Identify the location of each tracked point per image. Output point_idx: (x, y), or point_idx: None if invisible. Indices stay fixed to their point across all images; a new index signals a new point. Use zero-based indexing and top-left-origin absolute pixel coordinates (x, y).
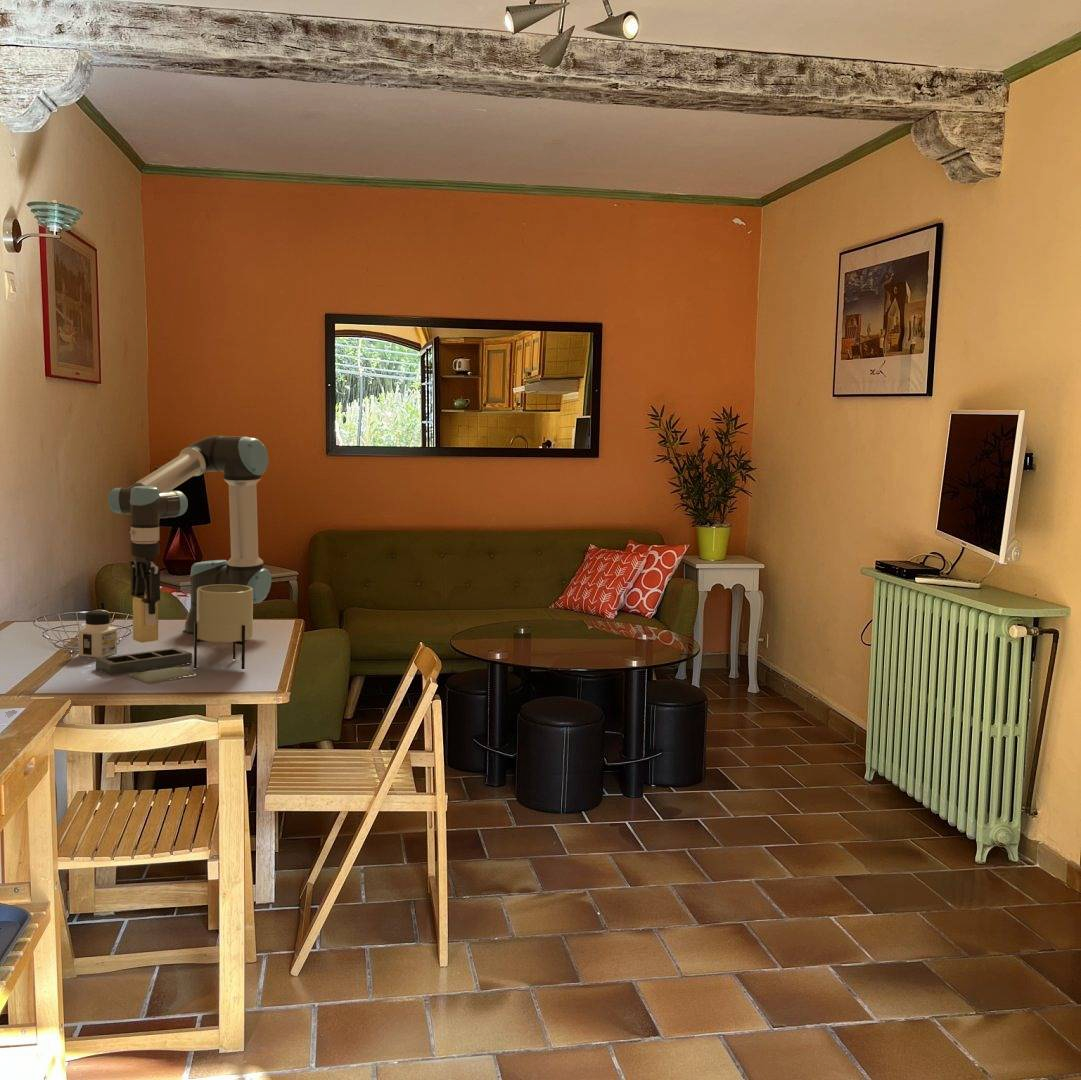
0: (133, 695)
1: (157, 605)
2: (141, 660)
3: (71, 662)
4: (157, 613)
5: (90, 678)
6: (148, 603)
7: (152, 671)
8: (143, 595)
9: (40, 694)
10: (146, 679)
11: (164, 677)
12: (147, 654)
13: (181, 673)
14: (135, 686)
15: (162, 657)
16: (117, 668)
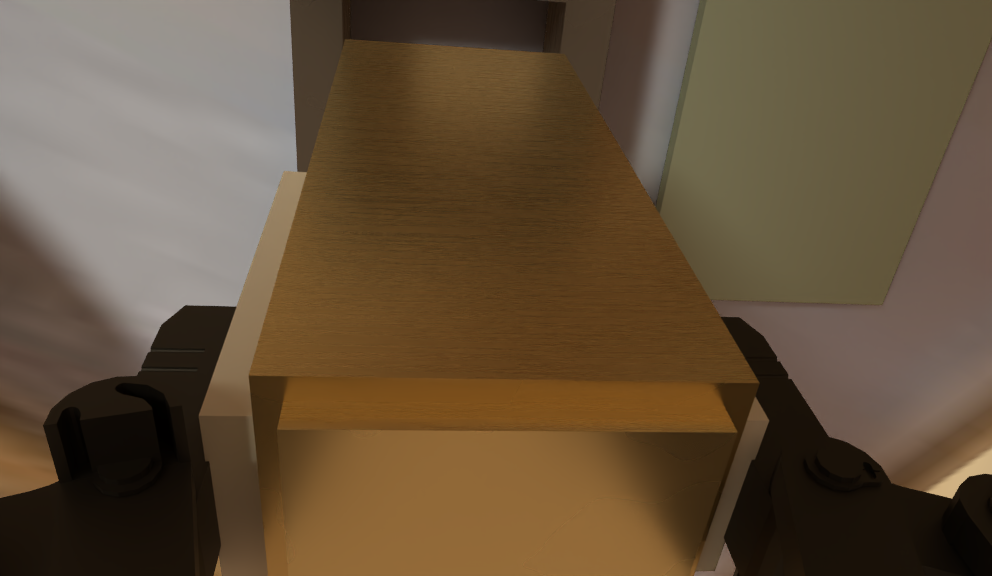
0: (985, 447)
1: (694, 293)
2: None
3: (29, 396)
4: (646, 210)
5: None
6: (718, 526)
7: (700, 159)
8: (301, 557)
9: None
10: (840, 291)
11: (902, 184)
12: (344, 10)
13: (927, 23)
14: (861, 371)
15: (614, 9)
16: None
